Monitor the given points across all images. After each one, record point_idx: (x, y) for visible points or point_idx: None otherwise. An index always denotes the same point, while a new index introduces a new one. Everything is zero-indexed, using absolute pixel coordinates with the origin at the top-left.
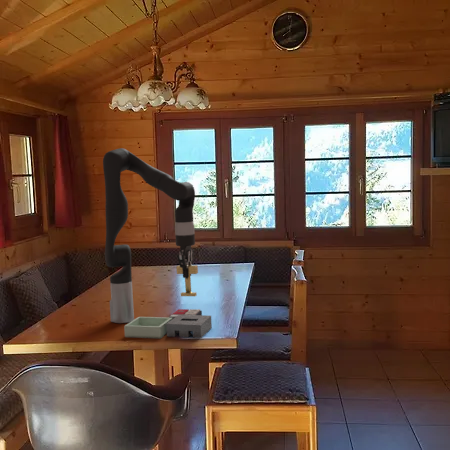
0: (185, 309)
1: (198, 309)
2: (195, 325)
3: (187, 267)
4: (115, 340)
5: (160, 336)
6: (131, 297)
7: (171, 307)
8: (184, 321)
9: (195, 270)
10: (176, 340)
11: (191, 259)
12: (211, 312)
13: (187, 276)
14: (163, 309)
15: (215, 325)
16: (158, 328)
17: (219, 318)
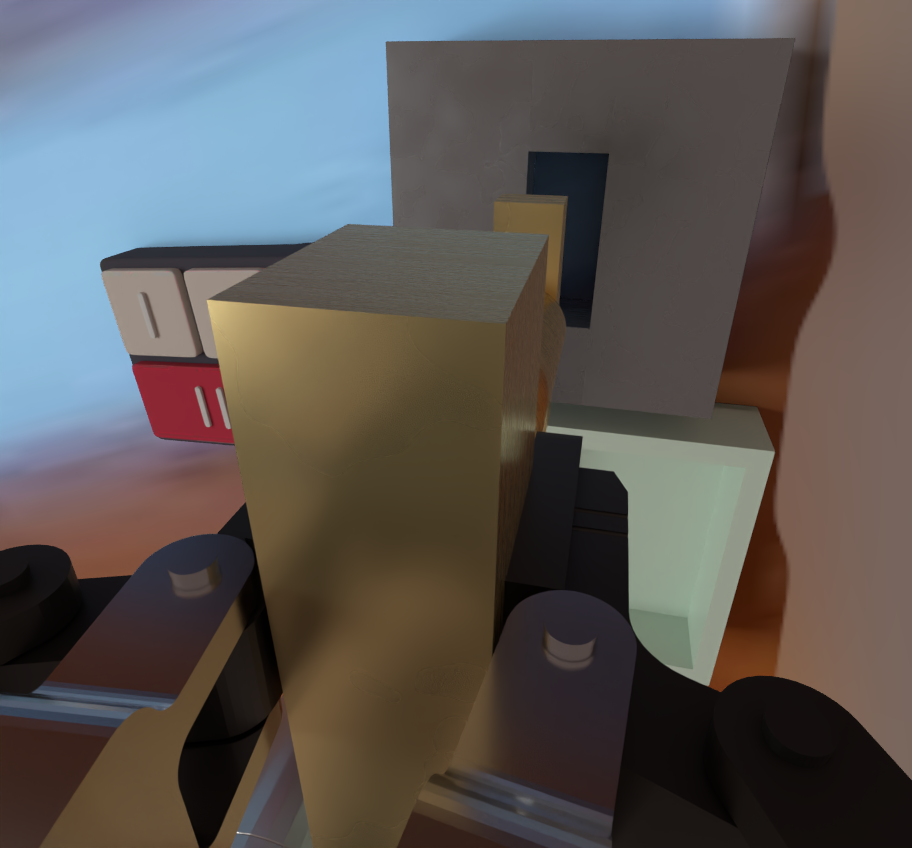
0: (143, 387)
1: (108, 286)
2: (778, 109)
3: (615, 628)
4: (772, 660)
5: (758, 414)
6: (294, 772)
7: (32, 499)
8: (629, 274)
9: (528, 284)
10: (827, 267)
11: (54, 752)
12: (18, 200)
13: (577, 458)
14: (87, 533)
15: (347, 33)
16: (769, 457)
17: (140, 69)
